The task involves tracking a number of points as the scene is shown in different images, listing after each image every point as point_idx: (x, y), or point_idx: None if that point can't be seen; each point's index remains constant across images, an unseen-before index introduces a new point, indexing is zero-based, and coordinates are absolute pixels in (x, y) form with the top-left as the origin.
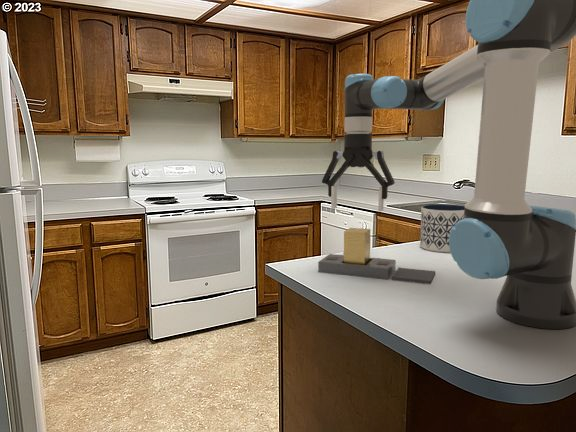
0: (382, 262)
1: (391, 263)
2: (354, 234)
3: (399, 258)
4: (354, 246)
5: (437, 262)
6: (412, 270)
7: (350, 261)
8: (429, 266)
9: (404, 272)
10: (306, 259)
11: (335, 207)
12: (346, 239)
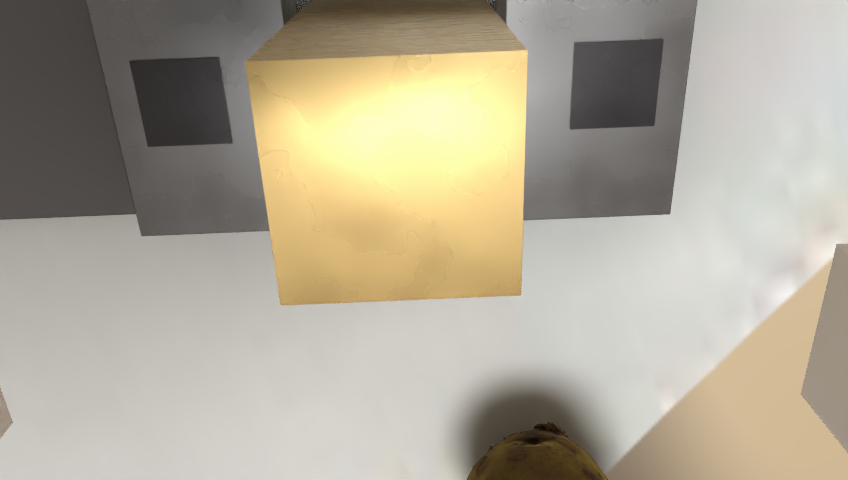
0: (192, 115)
1: (122, 121)
2: (385, 50)
3: (250, 457)
4: (388, 25)
5: (14, 455)
6: (24, 181)
7: (427, 4)
8: (14, 362)
9: (47, 108)
10: (840, 221)
11: (822, 340)
12: (482, 34)
